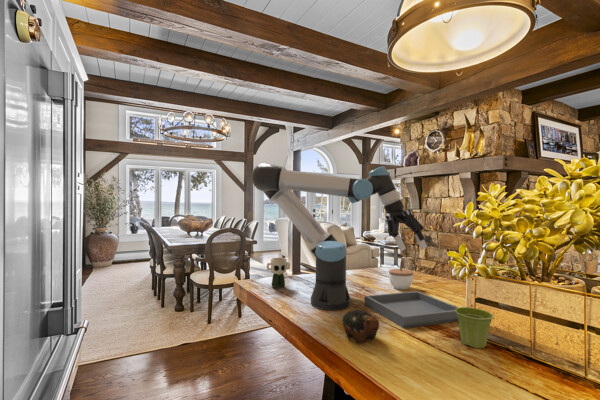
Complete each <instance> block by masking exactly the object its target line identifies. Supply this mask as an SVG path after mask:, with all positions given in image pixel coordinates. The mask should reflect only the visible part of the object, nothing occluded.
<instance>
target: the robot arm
mask: <svg viewBox="0 0 600 400" xmlns="http://www.w3.org/2000/svg"><path fill="white" fill-rule="evenodd" d="M251 182H252V185H253V186H254V187H255V188H256V189H257V190H259V191H261V192H263V193H264V195H266V197H267V198H268V200H269V201H270V202H275V203H276V204H277V205H278V207H280V210H282V212H283V213H284V214H285V215H286V216H287V218H288V219H289V221H290V222H291V223H292V224H293V225H294V226H295V228H296V229H297V230H298V232H299V233H300V234H301V235H302V237H303V238H304V239H305V240H306V242H307V243H308V244H309V245H310V247H309V251H310V252H311V253H312V254H313V256H314V257H315V284H314V287H313V290H312V293H311V296H310V305H312V307H314V308H317V309H320V310H328V311H336V310H337V311H338V310H345V309H347V308H350V307H351V296H350V293H349V291H348V287H347V254H348V253H347V245H345V243H344V242H341V241H338V240H337V239H336V237H335V236H334V235H333V234H332V233H331V232H326V231H325V229H323V227H322V226H321V225H320V222H318V221H317V220H316V218H315V217H314V216H313V215H312V213H311V212H310V211H309V210H308V209H307V207H306V206H305V204H304V203H303V202H302V201H301V200H300V199H299V197H298V196H297V195H296V194H295V192H294V191H298V192H307V193H313V194H320V195H327V196H328V195H329V196H336V197H345V198H348V200H349V202H350V203H351V204H355V203H358V202H360V201H362V200H363V201H364V200H367V199H369V198H370V197H371V196H373V195H376V194H378V198H379V200H380V202H381V205H384V206H383V208H384V210H385V213H386V214H387V215H386V216H385V219H386V223H387V229H388V230H387V231H388V235H389V237H392V238H393V239H394V241H395V244H396V245H397V248H398V249H399V251H400V252H402V251H404V250H405V251H406V249H407V247H406V245H405V243H404V241H403V239H402V237H401V234H399V229H400V228H399V227H400V224H403V225H405V226H406V227H407V228H409V229H410V230H411V231H413V235H414V237H415V239H416V242H417V243H418V246H419V248H420V250H424V249H426V248H428V245H427V243H426V241H425V237H424V235H423V230H425V227H424V226H423V225H422V224H421V223H420V221H418V219H417V218H416V216H414V214H413V213H412V211H411V209H409V208H408V209H406V210H404V208H405V206H404V204H403V202H402V200H401V199H400V195H399V193H398V190H397V188H396V187H395V186H396V185H394V182H393V180H392V177H391V176H390V173H389V171H388V170H387V168H386V166H383V165H382V166H379V167H377V168H375V169H372V170H371V171H368V177H367V178H354V177H353V178H352V177H351V178H350V177H345V176H337V175H329V174H322V173H313V172H306V171H299V170H290V169H287V168H286V167H285V166H281V165H274V164H270V163H268V162H266V163H264V162H263V163H260V164H258V165H256V166H255V167H254V169H253V170H252V172H251Z"/></svg>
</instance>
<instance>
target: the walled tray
mask: <svg viewBox="0 0 600 400" xmlns="http://www.w3.org/2000/svg"><path fill="white" fill-rule="evenodd" d="M364 306H365V307H367V308H369V309H370V310H372V311H374V312H375V313H377V314H378V315H381V316H382V317H383V318H386V319H387V320H388V321H390V322H392V323H394V324H395V325H397V326H399V327H401V329H402V328H403V329H411V328H412V329H413V328H418V327H424V326H425V327H426V326H433V325H441V324H449V322H450V323H454V322H453V321H457V322H459V320H458V317H457V313H456V312H455V309H456V308H460V307H458V306H456V305H453V304H451V303H448V302H446V301H444V300H440V299H438V298H435V297H433V296H430V295H429V294H425V293H423V292H420V291H417V290H416V291H405V292H395V293H384V294H373V295H372V294H371V295H364Z"/></svg>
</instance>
